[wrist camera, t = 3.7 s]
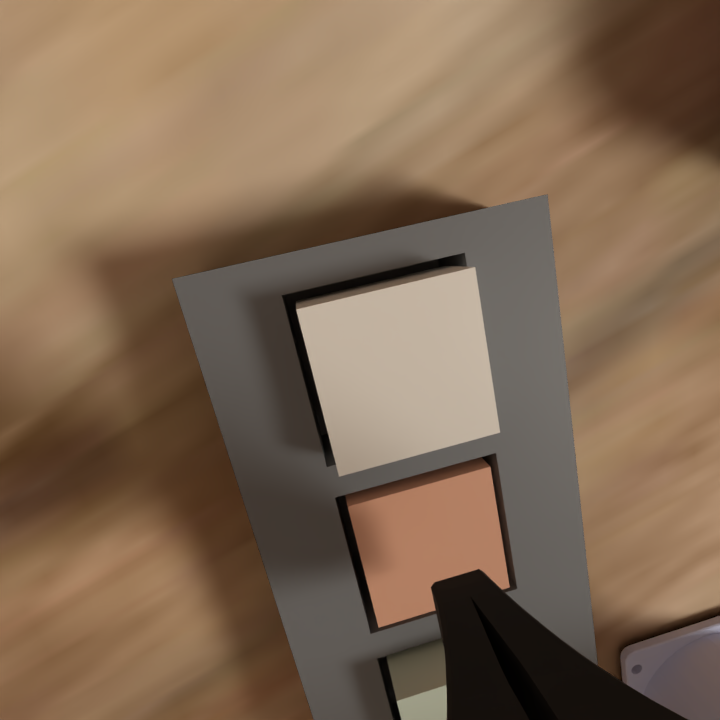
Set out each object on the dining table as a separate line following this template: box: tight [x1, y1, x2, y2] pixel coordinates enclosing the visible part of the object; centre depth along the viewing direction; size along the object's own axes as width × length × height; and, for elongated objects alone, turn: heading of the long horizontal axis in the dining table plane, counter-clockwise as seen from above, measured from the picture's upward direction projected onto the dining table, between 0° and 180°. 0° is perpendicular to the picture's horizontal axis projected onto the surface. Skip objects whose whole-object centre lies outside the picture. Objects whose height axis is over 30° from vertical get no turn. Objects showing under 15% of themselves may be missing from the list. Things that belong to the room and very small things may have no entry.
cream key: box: [296, 266, 500, 477], centre depth 12 cm, size 4×4×2 cm
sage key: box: [386, 638, 447, 720], centre depth 15 cm, size 4×4×2 cm
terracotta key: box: [345, 457, 510, 627], centre depth 15 cm, size 4×4×2 cm
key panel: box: [172, 194, 598, 720], centre depth 15 cm, size 19×10×3 cm, turn 12°
